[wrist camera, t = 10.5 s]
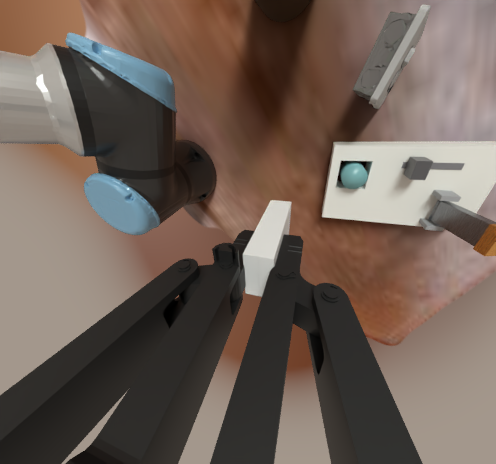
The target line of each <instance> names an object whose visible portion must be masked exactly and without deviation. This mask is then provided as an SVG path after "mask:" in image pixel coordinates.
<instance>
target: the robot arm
mask: <svg viewBox="0 0 496 464" xmlns="http://www.w3.org/2000/svg"><path fill="white" fill-rule="evenodd" d="M66 45H67V46H68V47H69V48H65V47H61V46H57V45H52V44H48V43H46V44H45V45H44V46H43V47H42V48H41V49H40V50H39V51H38V52H37V53H36V54H35V55H33V56H24V55H19V54H14V53H9V52H4V51H0V143H24V144H60V145H63V146H65V147H67V148H68V149H70V150H71V151H73V152H74V153H76V154H77V155H79V156H95V157H96V161H97V166H98V171H99V173H95V174H92V175H91V176H90V177H89V178H87V181H86V182H85V183H84V191H85V194H86V197H87V199H88V201H89V203H90V204H91V206H92V207H93V209H94V210H95V211H96V212H97V214H98V215H99V216H100V217H101V218H103V219H104V220H105V221H106V222H107V223H108V224H110V225H111V226H113V227H114V228H116V229H117V230H119V231H122V232H124V233H127V234H132V235H142V234H145V233H146V232H148V231H150V230H151V229H153V228H155V227H158V226H159V225H160V224H161V223H162V222H163V221H165V220H166V219H167V218H169V217H170V216H171V215H173V214H174V213H175V212H176V211H178V210H179V209H180V208H182V207H183V206H184V205H187V204H193V203H198V202H201V201H203V200H204V199H206V198H207V197H208V196H209V195H210V194H211V193H212V192H213V190H214V188H215V185H216V171H215V167H214V164H213V162H212V160H211V158H210V157H209V155H208V154H207V153H206V151H205V150H204V149H203V148H201V147H200V146H199V145H197V144H196V143H194V142H191V141H188V140H178V141H176V113H177V109H176V107H175V87H174V83H173V80H172V78H171V77H170V75H169V74H168V73H167V72H166V71H164V70H163V69H161V68H159V67H156V66H154V65H152V64H150V63H147V62H145V61H143V60H140V59H138V58H135V57H133V56H131V55H128V54H126V53H123V52H121V51H118V50H116V49H113V48H110V47H108V46H105V45H102V44H100V43H97V42H95V41H92V40H90V39H88V38H85V37H82V36H80V35H77V34H74V33H68V34H67V39H66ZM290 214H291V202H287V201H274V200H271V201H270V203H269V205H268V207H267V209H266V211H265V213H264V215H263V216H262V218H261V220H260V222H259V224H258V226H257V228H256V230H255V231H249V230H244V231H242V232H241V233H239V235H238V236H237V238H236V239H235V241H234V243H233V244H231V243H222V244H219V245H217V246H215V247H214V248H213V249H212V250H213V255H214V264H213V265H203V266H198V263H197V262H196V261H195V260H194V259H183V260H180V261H178V262H176V263H175V264H173V265H172V266H171V267H169V268H168V269H167V270H165V271H164V272H163V273H161V274H160V275H159V276H157V277H156V278H155V279H154V280H152V281H151V282H150V283H148V284H147V285H146V286H144V287H143V288H142V289H140V290H139V291H138V292H136V293H135V294H134V295H133V296H131V297H130V298H129V299H127V300H126V301H124V302H123V303H122V304H121V305H119V306H118V307H116V308H115V309H114V310H113V311H111V312H110V313H109V314H107V315H106V316H105V317H103V318H102V319H101V320H99V321H98V322H97V323H95V324H94V325H93V326H91V327H90V328H89V329H87V330H86V331H85V332H84V333H82V334H81V335H80V336H78V337H77V338H76V339H74V340H73V341H72V342H70V343H69V344H68V345H66V346H65V347H64V348H62V349H61V350H60V351H58V352H57V353H56V354H55V355H53V356H52V357H51V358H49V359H48V360H46V361H45V362H44V363H43V364H41V365H40V366H39V367H37V368H36V369H35V370H33V371H32V372H31V373H29V374H28V375H27V376H25V377H24V378H23V379H21V380H20V381H19V382H18V383H16V384H15V385H13V386H12V387H11V388H9V389H8V390H7V391H5V392H4V393H3V394H2V395H0V464H61V463H62V462H63V461H64V460H65V459H66V457H68V455H69V454H70V453H71V452H72V451H73V450H74V449H75V448H76V447H77V446H78V444H79V443H80V442H81V441H82V440H83V439H84V438H85V437H86V435H88V433H89V432H90V431H91V430H92V429H93V428H94V427H95V426H96V425H97V423H98V422H99V421H100V420H101V419H102V418H103V417H104V416H105V415H106V414H107V412H108V411H109V410H110V409H111V408H112V407H113V406H114V404H115V403H116V402H117V401H118V400H119V399H120V398H121V397H122V396H123V395H124V394H125V393H126V391H127V390H128V389H129V390H128V391H127V393H126V394H125V396H124V397H123V399H122V401H121V402H120V403H119V405H118V406H117V408H116V409H115V411H114V412H113V414H112V415H111V417H110V418H109V420H108V421H107V423H106V424H105V426H104V427H103V429H102V430H101V432H100V433H99V434H98V436H97V437H96V439H95V440H94V441H93V443H92V444H91V445H90V446H89V447H88V448H87V449H86V450H85V451H83V452H81V453H80V454H78V455H77V456H75V457H73V458H72V459H70V460H69V461H68V462H67V463H66V464H178V462H179V460H180V457H181V455H182V452H183V450H184V447H185V445H186V442H187V439H188V437H189V435H190V432H191V430H192V427H193V424H194V422H195V419H196V417H197V414H198V412H199V409H200V407H201V404H202V402H203V399H204V397H205V394H206V392H207V389H208V387H209V384H210V382H211V379H212V377H213V374H214V372H215V369H216V366H217V364H218V361H219V359H220V356H221V354H222V351H223V349H224V346H225V344H226V341H227V339H228V336H229V334H230V331H231V329H232V326H233V324H234V321H235V318H236V316H237V314H238V311H239V309H240V306H241V303H242V300H243V295H242V293H243V291H244V288H245V292H246V294H251V295H256V296H260V297H262V298H261V302H260V305H259V308H258V311H257V315H256V318H255V321H254V324H253V327H252V331H251V334H250V337H249V340H248V343H247V347H246V350H245V353H244V356H243V359H242V363H241V366H240V369H239V373H238V376H237V379H236V382H235V385H234V389H233V392H232V395H231V398H230V401H229V404H228V408H227V411H226V414H225V418H224V421H223V424H222V427H221V431H220V433H219V437H218V440H217V443H216V446H215V450H214V453H213V456H212V459H211V462H210V464H274V459H275V452H276V444H277V437H278V429H279V422H280V414H281V407H282V399H283V392H284V384H285V377H286V370H287V362H288V355H289V347H290V340H291V331H292V324H295V325H297V326H298V327H300V328H302V329H303V330H305V331H306V334H307V339H308V344H309V349H310V354H311V360H312V365H313V370H314V376H315V380H316V386H317V391H318V396H319V402H320V407H321V412H322V417H323V423H324V428H325V433H326V438H327V444H328V448H329V454H330V459H331V464H422V461H421V459H420V457H419V455H418V452H417V450H416V448H415V446H414V444H413V441H412V439H411V437H410V435H409V433H408V430H407V428H406V426H405V423H404V421H403V419H402V417H401V415H400V412H399V410H398V408H397V406H396V403H395V401H394V399H393V397H392V394H391V392H390V390H389V388H388V385H387V383H386V381H385V379H384V376H383V374H382V372H381V370H380V367H379V365H378V363H377V361H376V359H375V357H374V354H373V352H372V350H371V347H370V345H369V343H368V341H367V338H366V336H365V334H364V332H363V329H362V327H361V325H360V323H359V320H358V318H357V316H356V314H355V312H354V309H353V307H352V305H351V303H350V300H349V298H348V296H347V294H346V293H345V291H344V290H342V289H341V288H340V287H339V286H336V285H334V284H330V283H321V284H319V285H317V286H315V285H312V284H310V283H309V282H307V281H306V280H304V279H303V278H302V276H301V274H300V263H301V256H302V248H303V240H302V238H301V237H300V236H293V235H289V227H290ZM178 295H179V297H178V298H176V297H177V296H178ZM175 298H176V299H175Z"/></svg>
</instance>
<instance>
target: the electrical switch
mask: <svg viewBox="0 0 496 464" xmlns="http://www.w3.org/2000/svg"><path fill="white" fill-rule="evenodd" d="M430 8H431V6H428V5H422V6H421V7H420V9H419V11H418V13H417V14H410V13H402V14H401V13H395V12H390V14H389V16H388V18H387V20H386V22H385V24H384V27H383V29H382V31H381V33H380V35H379V37H378V39H377V41H376V43H375V45H374V47H373V49H372V51H371V53H370V55H369V57H368V59H367V61H366V64H365V66H364V68H363V70H362V72H361V74H360V76H359V78H358V80H357V82H356V84H355V86H354V88H353V91H354V92H355V93H356V94H357V95H358V96H360V97H362V98H365V99H366V100H370V101H369V104H372V105H373V106H374V107H373V108H376V109H379V108H380V106H381V105H382V104H383V102H384V100H385V99H386V97H387V95H388V93H389V92H390V90H391V88H392V87H393V85H394V83H395V81H396V80H397V78H398V76H399V74H400V73H401V71H402V69H403V68H404V66H406V65H407V63H408V62H409V60H410V58H411V57H412V55H413V53H414V51H415V47H416V45H417V43H418V42H419V40H420V38H421V36H422V33H423V31H424V28H425V24H426V21H427V18H428V14H429V11H430ZM384 31H385V32H384ZM386 43H387V44H386ZM355 90H356V91H355Z"/></svg>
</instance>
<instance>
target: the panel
mask: <svg viewBox="0 0 496 464" xmlns="http://www.w3.org/2000/svg"><path fill="white" fill-rule="evenodd" d="M410 157H426V158H428V159H430V160H432V161H433V164H432V166H431V168H430V170H429V173H428V175H427V177H426V179H425V180H410V179H408V178H407V177H406V176H405V175H404V171H405V168H406V166H407V163H408V160H409V158H410ZM341 161H367V163H366V167H365V170H366V171H367V174H368V177H367V181H366V182H365V184H364V185H363V186H361V187H359V188H357V189H348V188H346V187H345V186H344V185H343V183H342V182H341V181H337V178H338V173H339V168H340V163H341ZM495 183H496V141H480V142H333V148H332V154H331V160H330V165H329V171H328V177H327V183H326V189H325V195H324V200H323V206H322V217H327V218H338V219H348V220H358V221H369V222H379V223H389V224H400V225H410V226H421V227H423V228H424V229H425V230H434V231H442V230H443V229H444V228H443V227H441V226H439V225H438V224H436V223H434V222H433V221H430V220H428V218H429V216H430V214H431V212H432V210H433V208H434V206H435V204H436V202H437V200H439V201H450V202H452V203H454V204H456V205H458V206H461V207H463V208H465V209H467V210H470V211H472V212H474V213H477V211H478V209H479V208H480V206H481V205H482V203H483V202H484V200H485V198H486V197H487V195H488V194H489V192H490V191H491V189H492V187H493V186H494V184H495Z"/></svg>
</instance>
